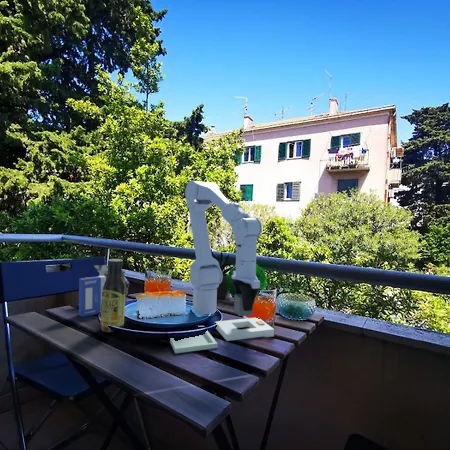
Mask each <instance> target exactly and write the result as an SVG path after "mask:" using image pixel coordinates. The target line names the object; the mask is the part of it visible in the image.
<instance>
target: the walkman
mask: <svg viewBox="0 0 450 450" xmlns="http://www.w3.org/2000/svg"><path fill="white" fill-rule="evenodd" d="M105 281H106V277H105V276H99V275H97V276H90V277H82V278H79V279H78V315H79V316H80V317H82V318H83V317H88V316H94V315H98V313H99V312H100V311H101V303H102V289H103V287H104V284H105ZM99 314H100V313H99Z"/></svg>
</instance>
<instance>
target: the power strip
mask: <svg viewBox="0 0 450 450" xmlns="http://www.w3.org/2000/svg"><path fill="white" fill-rule="evenodd" d="M258 318H259V317H258ZM258 318H256V317H248V318H246V317H245V318H238V319H227V320H218V321H217V320H216V321H214V324H215V323H216V324H217V327H216V328H215V329H216V331H217V332H218V333H219V334H220V335H221V336H222V337H223V338H224V340H225V341H226V342H229V341H237V340H246V339H253V338H261V337H264V338H272V337H275V329H274V328H273V327H272V326H271V325H269V323H266V322H265V321H264V320H263V319H261V318H260V319H258ZM240 328H243V329H240Z"/></svg>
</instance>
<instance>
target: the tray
mask: <svg viewBox="0 0 450 450" xmlns="http://www.w3.org/2000/svg"><path fill="white" fill-rule="evenodd" d="M197 326H198V327H205V325H197ZM169 343H170V346H171V347H172V350H173V352H174V354H182V353H190V352H196V351H197V352H198V351H206V350H211V349H218V348H219V347H218V341H216V340H215V338H214V337H213V336H212V334H211V332H209V331H208V330H207V331H206V332H205V334H203V335H199V336H195V337H189V338H184V339H181V340H178V341H175V340H174V338H170V341H169Z"/></svg>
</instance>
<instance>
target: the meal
mask: <svg viewBox="0 0 450 450" xmlns="http://www.w3.org/2000/svg"><path fill="white" fill-rule="evenodd" d="M93 267H94V268H95V269H96V270H97V273H98V274H99V275H98V276H105V277H106V278H107V275H108V265H99V264H98V265H97V264H96V265H94V264H93ZM125 275H126V271H125V270H123V269H122V278H123V280H124V282H125V303H127V302H128V297H127V295H128V294H129V291H128V290H129V286H130V282H129V281H128V279H127V278H126V276H125ZM126 297H127V298H126Z"/></svg>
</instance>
